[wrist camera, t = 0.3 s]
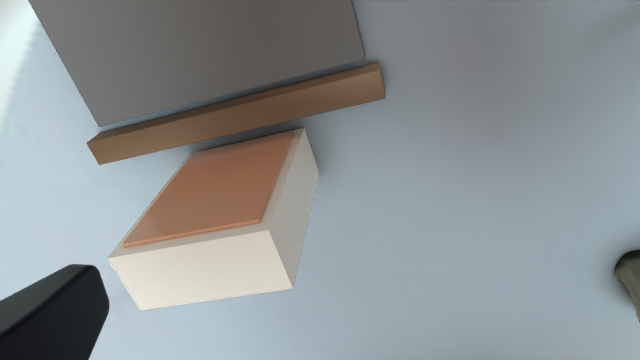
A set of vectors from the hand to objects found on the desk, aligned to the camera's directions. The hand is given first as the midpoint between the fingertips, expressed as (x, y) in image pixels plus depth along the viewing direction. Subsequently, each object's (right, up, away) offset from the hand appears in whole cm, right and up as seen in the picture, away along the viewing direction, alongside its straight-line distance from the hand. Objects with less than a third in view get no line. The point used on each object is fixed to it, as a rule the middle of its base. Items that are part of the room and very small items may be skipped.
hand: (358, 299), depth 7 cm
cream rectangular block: (-4, +3, +15) cm, 16 cm away
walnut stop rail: (-4, +5, +14) cm, 15 cm away
